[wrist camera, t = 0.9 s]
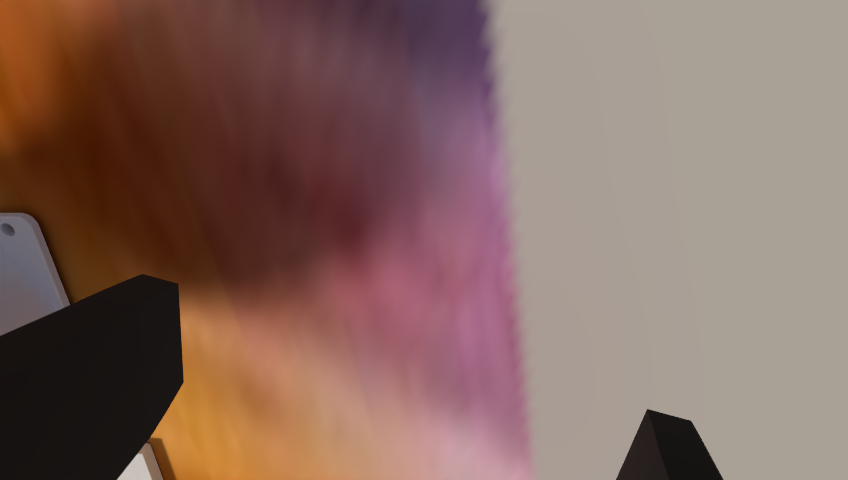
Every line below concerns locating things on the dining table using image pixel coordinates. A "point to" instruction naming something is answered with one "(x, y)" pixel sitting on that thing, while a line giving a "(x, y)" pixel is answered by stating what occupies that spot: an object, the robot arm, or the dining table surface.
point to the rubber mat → (142, 466)
